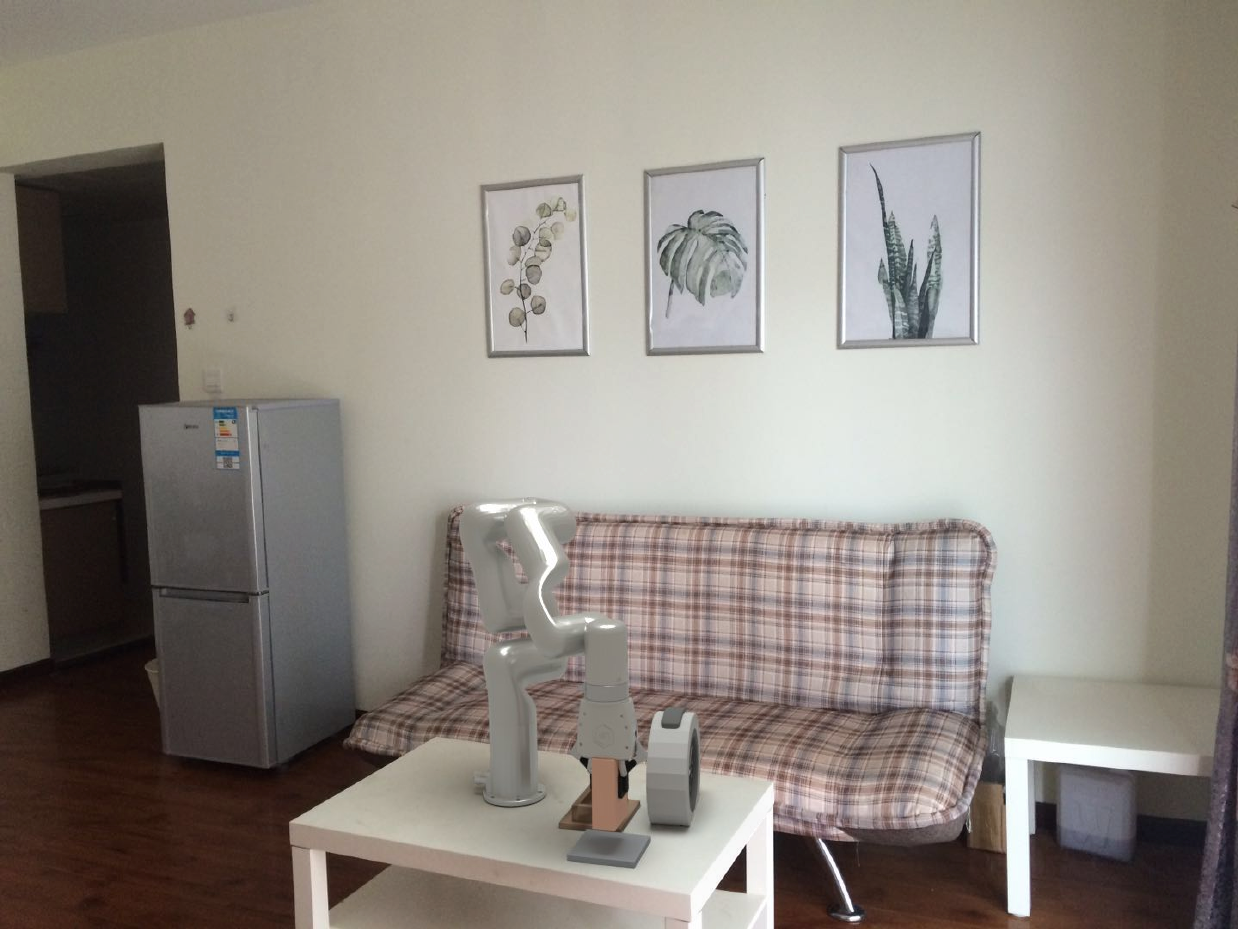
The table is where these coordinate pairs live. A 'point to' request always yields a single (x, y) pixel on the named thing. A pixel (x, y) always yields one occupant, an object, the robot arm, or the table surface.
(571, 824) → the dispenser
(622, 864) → the mat
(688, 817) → the alarm clock
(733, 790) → the table surface
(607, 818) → the salmon pink tall block
